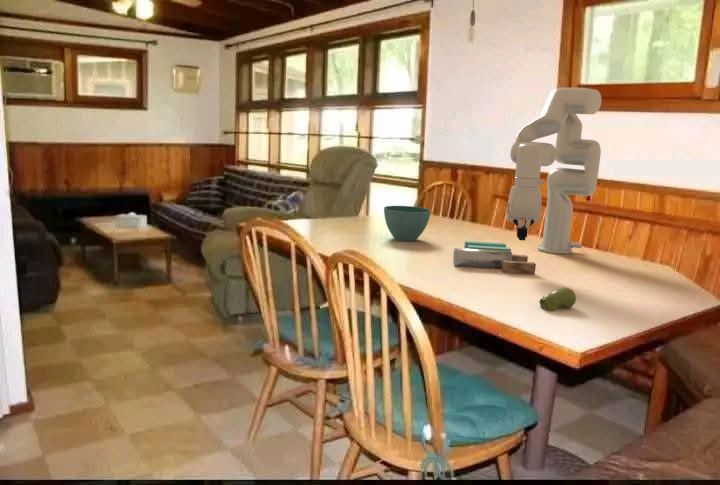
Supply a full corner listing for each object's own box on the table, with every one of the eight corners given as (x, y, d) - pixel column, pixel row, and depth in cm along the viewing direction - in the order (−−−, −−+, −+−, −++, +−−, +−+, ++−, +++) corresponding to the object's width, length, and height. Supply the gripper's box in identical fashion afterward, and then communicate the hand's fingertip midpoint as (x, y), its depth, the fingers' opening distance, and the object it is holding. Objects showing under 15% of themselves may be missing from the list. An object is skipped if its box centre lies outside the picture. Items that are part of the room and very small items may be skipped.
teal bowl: (398, 233, 246) (400, 204, 243) (436, 240, 235) (439, 209, 233) (373, 238, 231) (375, 207, 229) (413, 246, 221) (415, 213, 218)
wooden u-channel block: (525, 265, 198) (526, 255, 197) (534, 274, 186) (535, 264, 185) (495, 263, 198) (496, 253, 198) (502, 272, 186) (503, 262, 185)
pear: (580, 288, 150) (549, 298, 146) (580, 308, 151) (549, 317, 147) (564, 283, 155) (534, 291, 151) (565, 301, 156) (534, 310, 152)
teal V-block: (502, 256, 210) (504, 243, 209) (509, 263, 199) (510, 249, 198) (463, 254, 211) (464, 240, 210) (468, 261, 200) (469, 246, 199)
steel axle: (507, 267, 195) (508, 249, 194) (511, 271, 189) (513, 253, 188) (452, 263, 196) (454, 246, 194) (455, 268, 190) (456, 250, 189)
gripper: (547, 182, 190) (541, 238, 194) (500, 180, 191) (496, 236, 195) (553, 185, 183) (547, 243, 187) (505, 183, 183) (500, 241, 187)
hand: (521, 239), depth 191 cm, fingers closed
